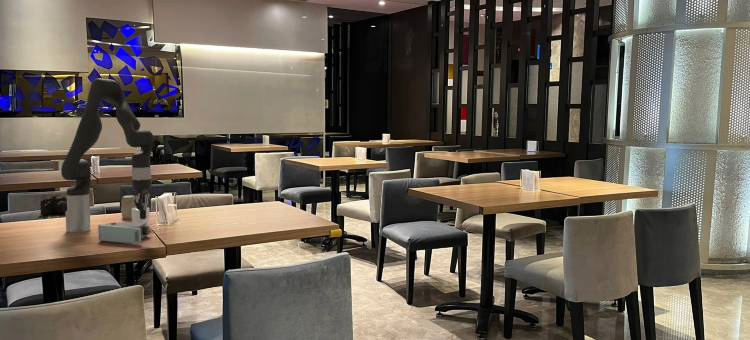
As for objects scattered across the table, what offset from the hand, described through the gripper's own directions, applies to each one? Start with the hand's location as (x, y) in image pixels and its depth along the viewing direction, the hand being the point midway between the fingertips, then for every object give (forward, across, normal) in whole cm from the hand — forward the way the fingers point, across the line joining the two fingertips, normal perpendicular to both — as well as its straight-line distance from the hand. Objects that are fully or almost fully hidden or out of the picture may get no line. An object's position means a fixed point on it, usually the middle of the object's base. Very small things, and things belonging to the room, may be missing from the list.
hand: (143, 218), depth 237 cm
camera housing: (+10, -8, -11) cm, 17 cm away
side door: (+10, -2, -19) cm, 21 cm away
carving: (+10, -55, -27) cm, 62 cm away
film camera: (+9, -73, -72) cm, 103 cm away
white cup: (+10, -28, -11) cm, 32 cm away
